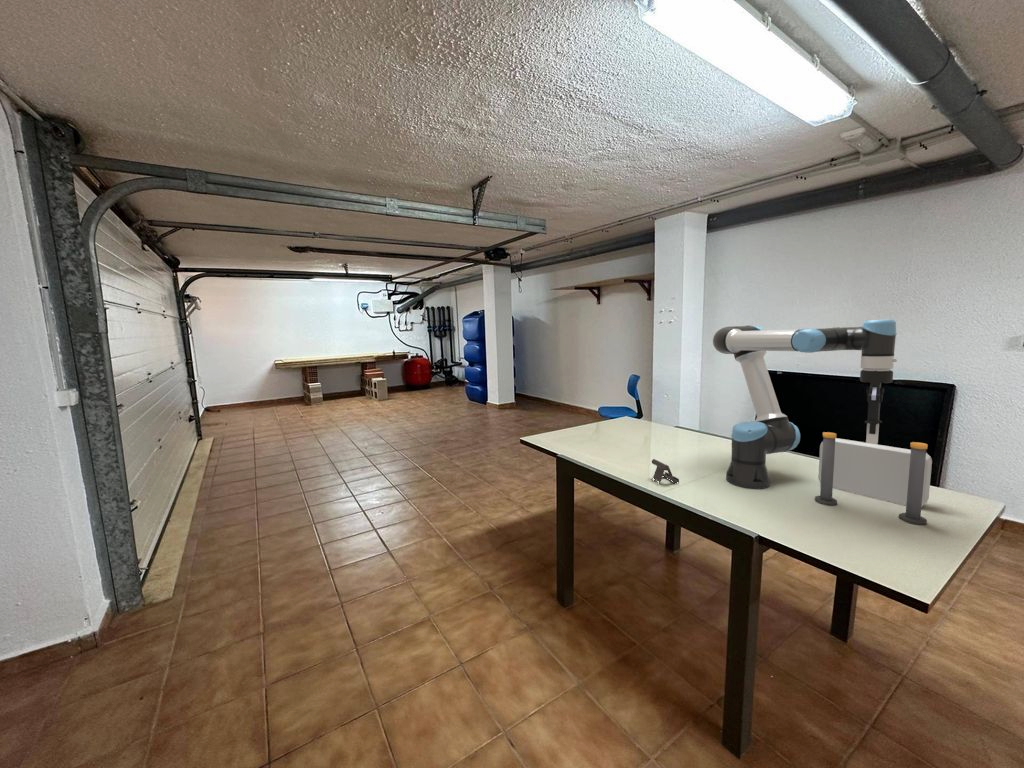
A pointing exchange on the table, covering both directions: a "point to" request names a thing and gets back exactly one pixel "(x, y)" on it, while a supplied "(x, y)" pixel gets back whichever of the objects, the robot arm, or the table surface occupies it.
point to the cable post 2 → (915, 485)
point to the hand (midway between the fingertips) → (871, 443)
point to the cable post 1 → (827, 470)
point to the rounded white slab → (874, 470)
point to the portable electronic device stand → (660, 471)
